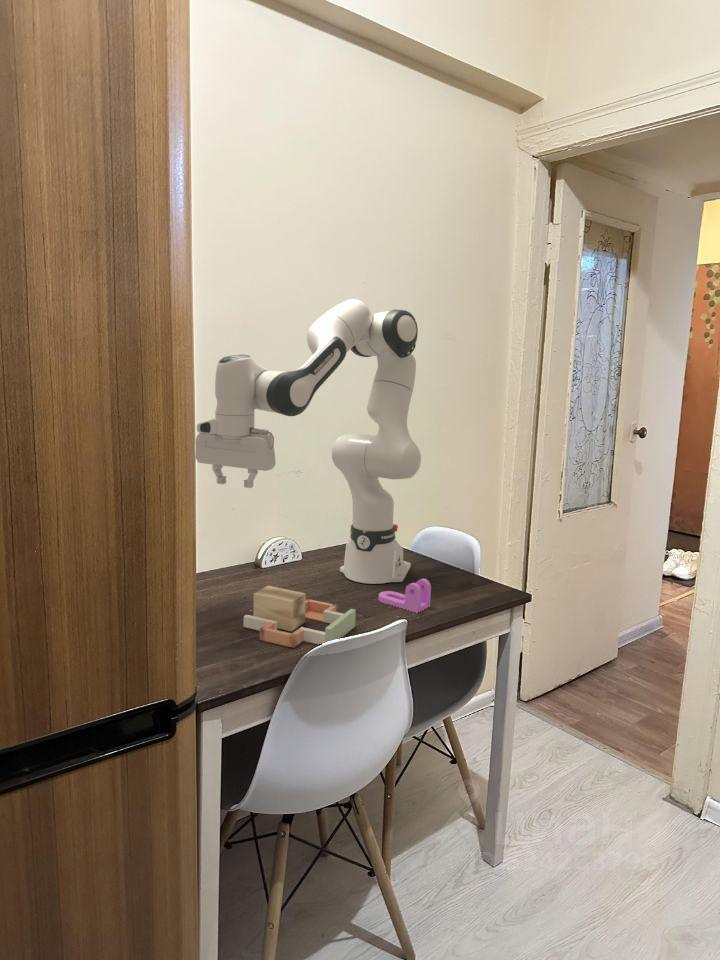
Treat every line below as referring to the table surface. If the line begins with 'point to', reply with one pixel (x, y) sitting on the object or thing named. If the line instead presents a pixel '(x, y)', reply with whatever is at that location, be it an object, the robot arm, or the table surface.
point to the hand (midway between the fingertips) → (234, 485)
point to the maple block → (280, 607)
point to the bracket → (409, 596)
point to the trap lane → (314, 611)
